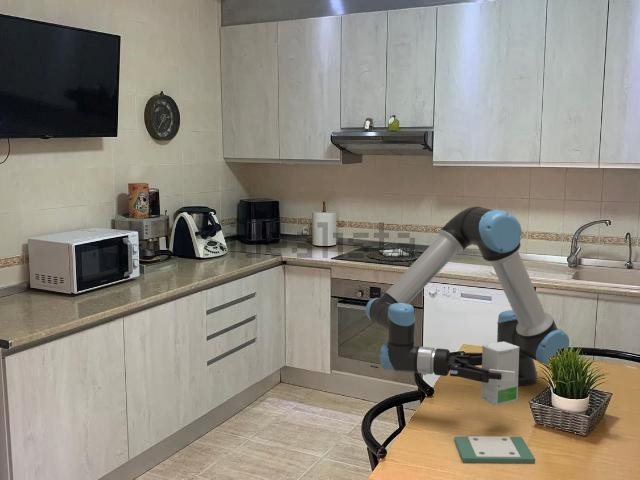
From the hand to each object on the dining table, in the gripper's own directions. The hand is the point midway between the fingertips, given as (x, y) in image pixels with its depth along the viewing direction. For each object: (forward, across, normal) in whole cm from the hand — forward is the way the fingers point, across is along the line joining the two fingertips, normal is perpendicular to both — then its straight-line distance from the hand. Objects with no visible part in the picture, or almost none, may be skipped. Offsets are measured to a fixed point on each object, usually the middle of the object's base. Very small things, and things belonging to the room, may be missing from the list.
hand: (516, 369), depth 178 cm
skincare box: (-4, 0, -9) cm, 10 cm away
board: (-4, +14, -18) cm, 23 cm away
